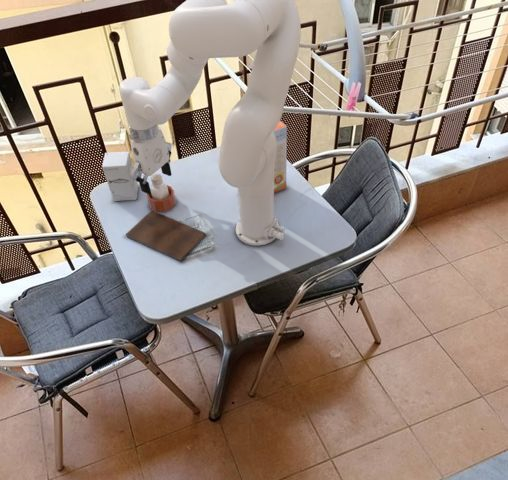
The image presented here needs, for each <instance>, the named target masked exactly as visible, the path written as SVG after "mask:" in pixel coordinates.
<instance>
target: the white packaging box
mask: <svg viewBox="0 0 508 480" xmlns="http://www.w3.org/2000/svg"><path fill="white" fill-rule="evenodd" d="M130 153H131V152H130V151H129V150H128V151H112V152H111V151H110V152H104V156H103V161H102V166H101V167H102V171H103V173H104V176H105V179H106V182H107V185H108V188H109V191H110V194H111V197H112V200H113V202H118V201H119V202H120V201H137V198H138V191H139V182H137V181H135V180H133V179H132V178H131V177H130V172H131V171H132V169H133V167H134V163H133V161H132V157H131V154H130Z"/></svg>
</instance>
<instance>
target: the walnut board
mask: <svg viewBox="0 0 508 480" xmlns="http://www.w3.org/2000/svg"><path fill="white" fill-rule="evenodd" d="M125 236H126V238H129V239H131V240H132V241H135V242H137V243H139V244H141V245H144V246H146V247H148V248H151V249H153V250H155V251H157V252H159V253H162V254H164V255H166V256H167V257H170V258H172V259H175V260H176V261H179V262H182V261H183V260H185V258H186V257H187V256H188V255H189V254H190V253H191V252H192V251H193V250H194V249H195V248H196V247H197V246H198V245H199V244H200V242H201V241H202V240H203V239H204V238H205V237H206V236H207V233H206V232H204V231H202V230H200V229H197V228H195V227H192V226H190V225H187V224H186V223H183V222H180V221H178V220H176V219H173V218H171V217H169V216H167V215H164V214H161V213H160V212H156V211H154V210H150V211H149V212H148V213H147V214H146V215H145V216H144V217H143V218H142V219H140V220H139V221H138V222H137V223H136V224H135V225H134V226H133V227H132V228H131V229H130V230H129V231H128V232H127V233H126V234H125Z"/></svg>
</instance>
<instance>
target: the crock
mask: <svg viewBox="0 0 508 480" xmlns="http://www.w3.org/2000/svg"><path fill="white" fill-rule="evenodd" d="M166 185H167V187H168V191H169V197H168V198H166V199H163V200H154V199H153V198H152V194H147V193H146V198H147V202H148V206H149V208H150V209H151V211H154V212H157V213H164V212H165V213H166V212H168V211H171V210H173V208H174V207H175V206H176V203H177V202H176V201H177V200H176V196H175V190H174V188H173V187H172V186H170V185H168V184H166Z"/></svg>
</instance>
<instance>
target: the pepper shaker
mask: <svg viewBox="0 0 508 480" xmlns="http://www.w3.org/2000/svg"><path fill="white" fill-rule="evenodd" d="M162 176H163V175H161V174H159V173H154V174H152V175H151V176H150V181H151V184H152V185H151V186H150V190H151V194H152V198H153V199H154V200H163V199H166V198H168V197H169V191H168V187H167V185H168V184H166V183H164V181H163V177H162Z"/></svg>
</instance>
